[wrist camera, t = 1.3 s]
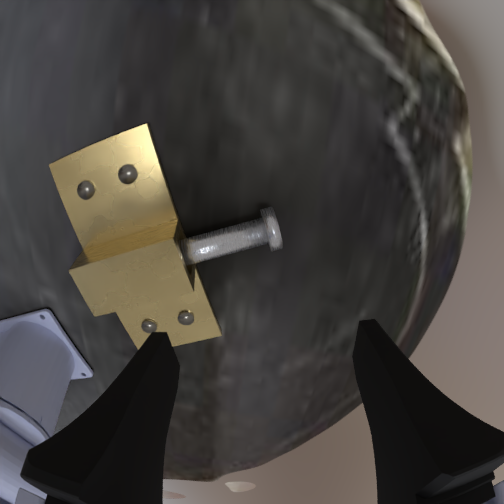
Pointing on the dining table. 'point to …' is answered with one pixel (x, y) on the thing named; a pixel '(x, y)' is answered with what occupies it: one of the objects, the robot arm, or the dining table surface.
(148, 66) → the dining table surface
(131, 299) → the hinge leaves
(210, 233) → the hinge pin
